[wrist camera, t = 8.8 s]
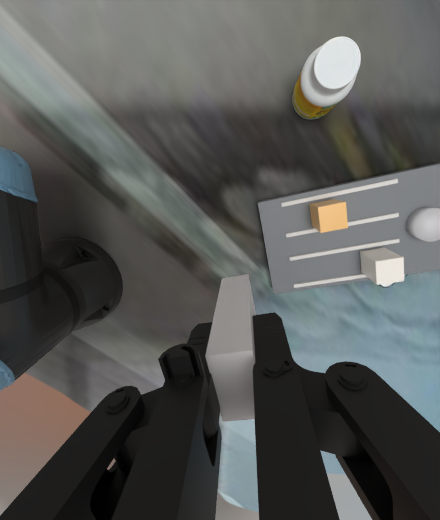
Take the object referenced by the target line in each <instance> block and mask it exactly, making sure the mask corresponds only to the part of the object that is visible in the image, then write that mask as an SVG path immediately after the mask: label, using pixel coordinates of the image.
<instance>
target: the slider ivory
mask: <svg viewBox="0 0 440 520" xmlns="http://www.w3.org/2000/svg"><path fill="white" fill-rule="evenodd" d="M360 259H361V272H362V273H363V274H364V275H366V276H367V277H368V278H369V279H370V280H372V281H373V282H374V283H375V284H376V285H379V284H386V283H393V282H400V281H404V257H402V256H400V255H398V254H396V253H394V252H392V251H390V250H388V249H386V248H385V247H383V248H377V249H371V250H365V251H360Z"/></svg>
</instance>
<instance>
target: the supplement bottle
mask: <svg viewBox="0 0 440 520" xmlns="http://www.w3.org/2000/svg"><path fill="white" fill-rule="evenodd" d="M360 62H361V55H360V50H359V48H358V46H357V44H356V43H355V42H354V41H353V40H352V39H350V38H347V37H335V38H333V39H331V40H329V41H327V42H326V43H325V44H324V45H322V46H320V47H319V48H317V49H316V50H315V51H314V52H313V53H312V54H311V55H310V56H309V57H308V59H307V60H306V62H305V64H304V66H303V69H302V71H301V73H300V76H299V78H298V80H297V82H296V85H295V87H294V90H293V96H292V102H293V106H294V109H295V111H296V112H297V114H298V115H299V116H301V117H303V118H305V119H318V118H320V117H322V116H324V115H325V114H326V113H328V112H329V111H330V110H331V109H332V108H333V107H334V106H335V105H337V104H338V103H339V102H340V101H341V100H342V99H343V98H344V97H345V96H346V95H347V94H348V93H349V91H350V90H351V88H352V86H353V84H354V82H355V79H356V75H357V72H358V70H359V67H360Z"/></svg>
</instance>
